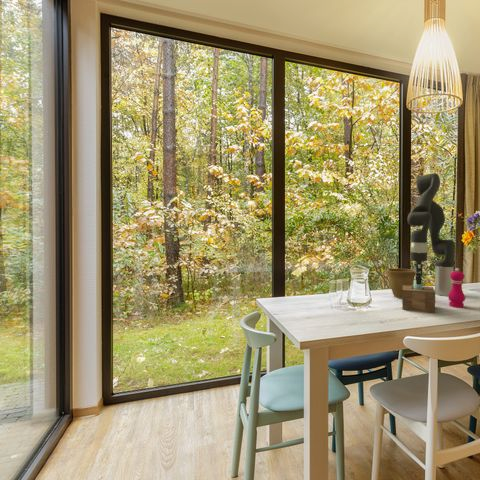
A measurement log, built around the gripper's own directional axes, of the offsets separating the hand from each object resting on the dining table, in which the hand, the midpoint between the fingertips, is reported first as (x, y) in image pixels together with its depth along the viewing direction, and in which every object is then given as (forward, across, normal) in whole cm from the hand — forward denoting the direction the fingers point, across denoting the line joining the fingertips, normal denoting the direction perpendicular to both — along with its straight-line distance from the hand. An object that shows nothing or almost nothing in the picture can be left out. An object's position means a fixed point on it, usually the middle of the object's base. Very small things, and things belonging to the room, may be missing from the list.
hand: (418, 282), depth 160 cm
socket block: (+13, 0, 0) cm, 13 cm away
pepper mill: (+13, -12, +18) cm, 25 cm away
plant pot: (+13, -23, -8) cm, 28 cm away
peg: (+8, 0, 0) cm, 8 cm away
